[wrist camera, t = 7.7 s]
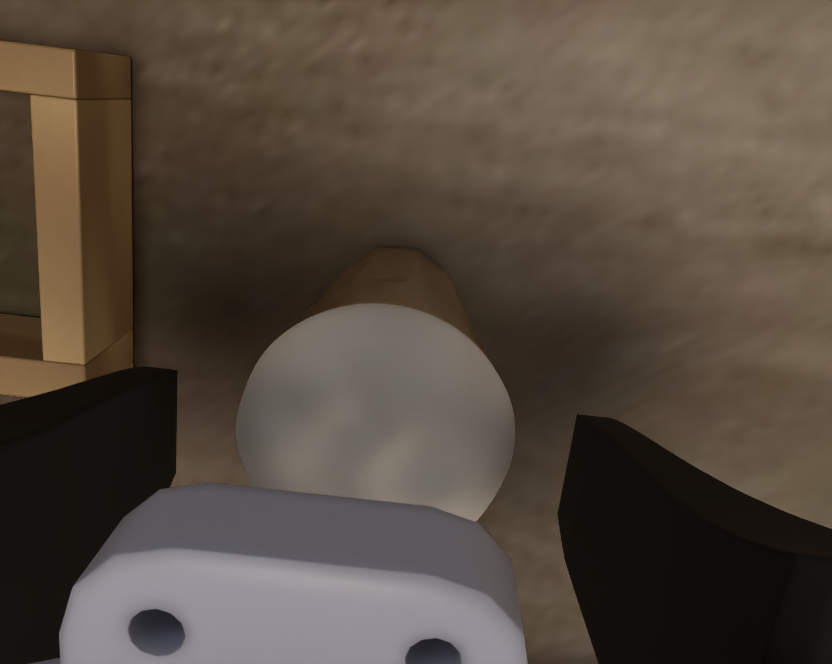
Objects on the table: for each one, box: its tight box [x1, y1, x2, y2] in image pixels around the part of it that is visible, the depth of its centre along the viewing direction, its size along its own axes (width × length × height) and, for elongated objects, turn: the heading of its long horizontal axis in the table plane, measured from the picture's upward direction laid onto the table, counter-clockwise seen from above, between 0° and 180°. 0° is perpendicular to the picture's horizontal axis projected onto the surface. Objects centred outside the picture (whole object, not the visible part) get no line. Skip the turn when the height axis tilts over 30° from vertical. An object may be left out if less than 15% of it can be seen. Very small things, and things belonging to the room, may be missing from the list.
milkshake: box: [235, 248, 515, 522], centre depth 15 cm, size 4×5×10 cm
